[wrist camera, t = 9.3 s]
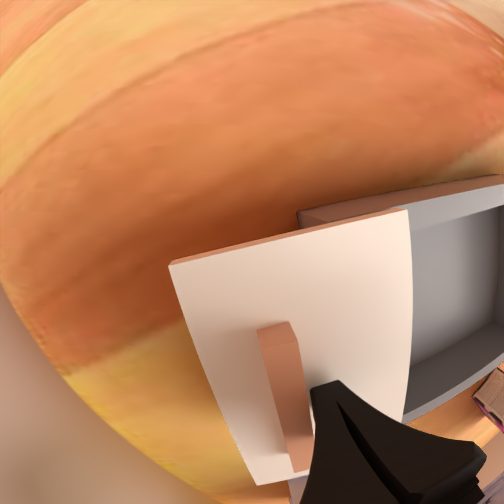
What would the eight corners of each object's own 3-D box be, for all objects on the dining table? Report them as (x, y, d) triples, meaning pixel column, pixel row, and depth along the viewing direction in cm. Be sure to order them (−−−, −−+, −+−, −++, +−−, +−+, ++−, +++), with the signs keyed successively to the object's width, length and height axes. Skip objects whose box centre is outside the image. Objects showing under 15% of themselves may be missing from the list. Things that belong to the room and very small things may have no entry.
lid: (255, 475, 13) (259, 503, 11) (172, 260, 10) (158, 278, 8) (392, 434, 13) (406, 456, 11) (396, 207, 10) (429, 213, 8)
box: (325, 401, 18) (347, 448, 14) (296, 211, 15) (327, 221, 10) (490, 323, 19) (523, 344, 14) (494, 174, 16) (538, 176, 11)
